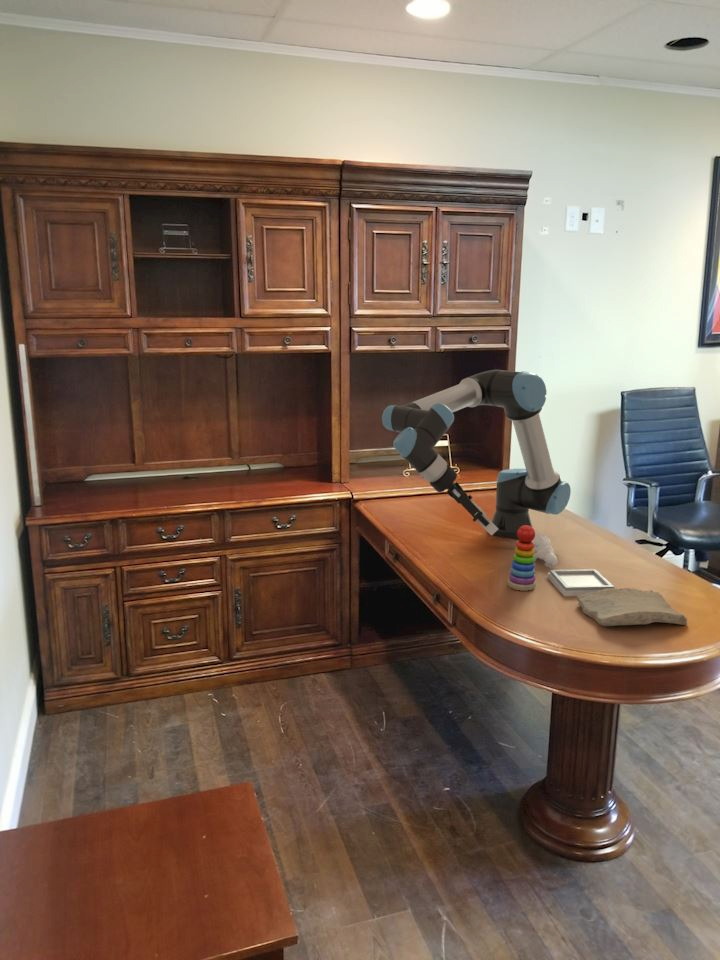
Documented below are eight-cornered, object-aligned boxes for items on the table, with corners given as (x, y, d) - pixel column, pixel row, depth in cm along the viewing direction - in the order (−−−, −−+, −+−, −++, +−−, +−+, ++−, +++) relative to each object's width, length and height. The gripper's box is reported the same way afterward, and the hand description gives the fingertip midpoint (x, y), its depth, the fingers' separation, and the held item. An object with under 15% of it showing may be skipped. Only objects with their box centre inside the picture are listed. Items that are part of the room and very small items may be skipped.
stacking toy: (506, 590, 213) (509, 527, 209) (509, 580, 221) (512, 520, 216) (534, 593, 211) (538, 530, 207) (536, 583, 219) (540, 522, 214)
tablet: (694, 635, 188) (657, 598, 206) (698, 609, 185) (660, 573, 204) (602, 642, 185) (572, 603, 204) (604, 616, 183) (574, 579, 202)
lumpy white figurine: (547, 531, 239) (565, 546, 228) (544, 555, 242) (562, 571, 231) (529, 532, 238) (546, 547, 227) (526, 556, 241) (543, 573, 230)
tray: (547, 577, 223) (548, 569, 223) (595, 576, 224) (596, 568, 224) (564, 596, 209) (564, 588, 208) (615, 595, 210) (616, 587, 209)
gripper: (422, 473, 219) (469, 521, 223) (436, 494, 195) (489, 547, 199) (440, 455, 218) (488, 504, 222) (457, 474, 194) (510, 528, 198)
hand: (488, 524), depth 211 cm, fingers open, 13 cm apart
